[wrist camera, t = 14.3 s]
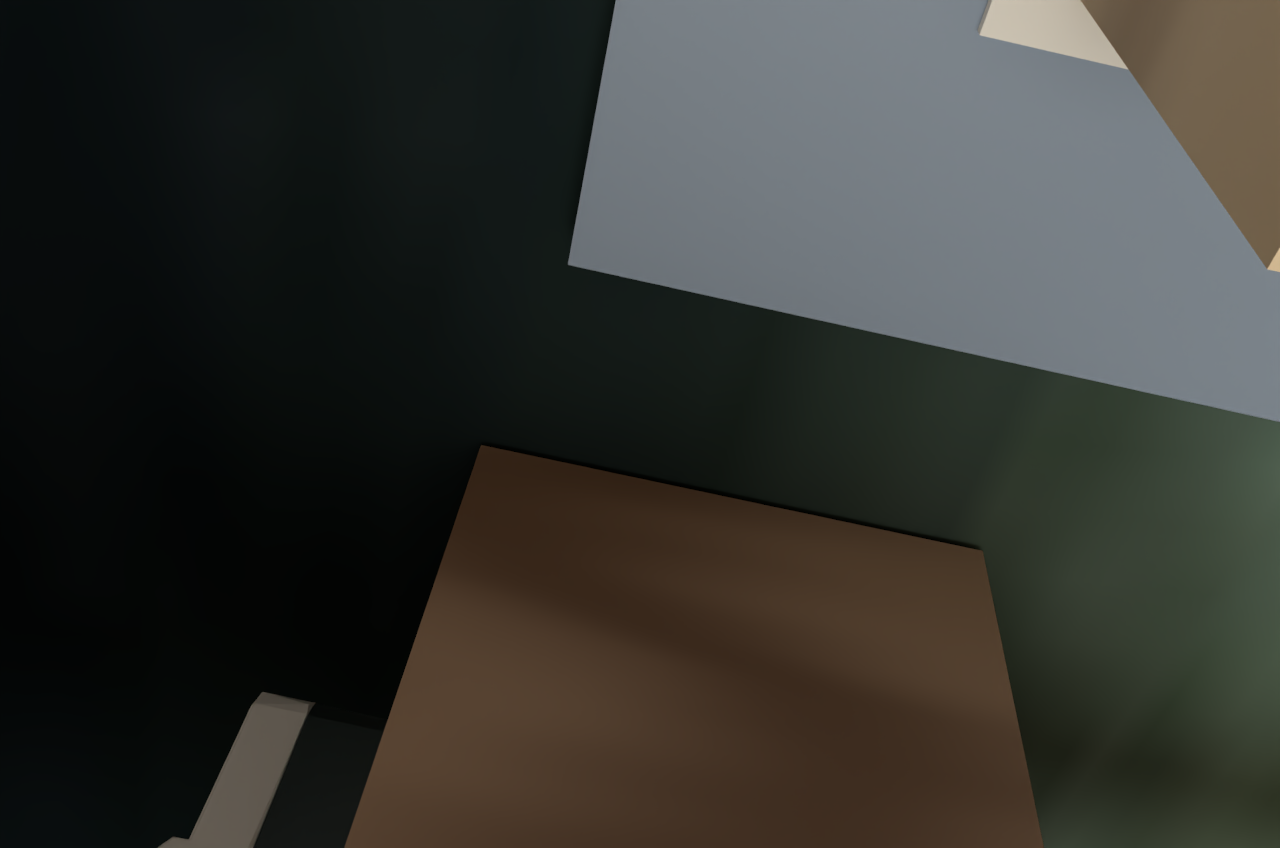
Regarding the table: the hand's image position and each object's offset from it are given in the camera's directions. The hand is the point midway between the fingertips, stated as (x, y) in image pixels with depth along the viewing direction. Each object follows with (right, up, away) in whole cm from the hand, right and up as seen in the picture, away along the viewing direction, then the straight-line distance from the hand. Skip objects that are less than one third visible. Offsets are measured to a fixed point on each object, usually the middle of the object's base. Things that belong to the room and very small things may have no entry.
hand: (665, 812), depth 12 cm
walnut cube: (0, +1, +1) cm, 2 cm away
